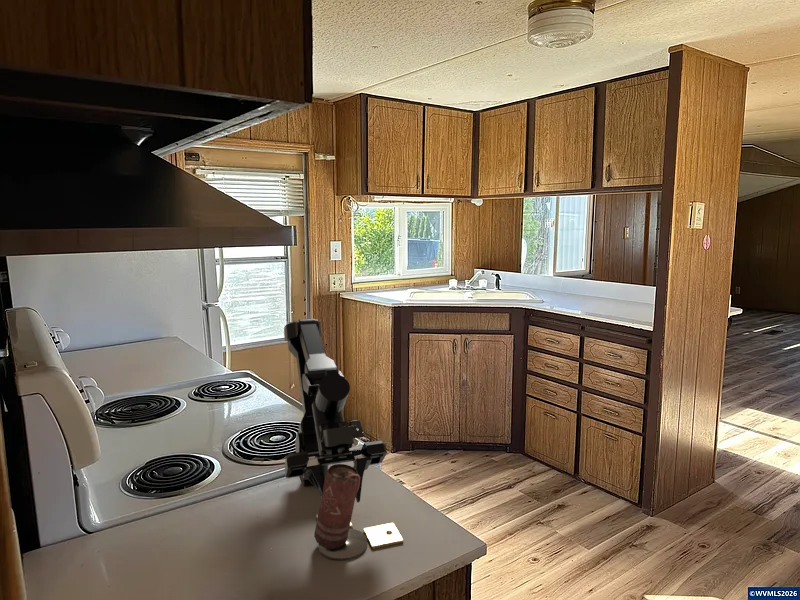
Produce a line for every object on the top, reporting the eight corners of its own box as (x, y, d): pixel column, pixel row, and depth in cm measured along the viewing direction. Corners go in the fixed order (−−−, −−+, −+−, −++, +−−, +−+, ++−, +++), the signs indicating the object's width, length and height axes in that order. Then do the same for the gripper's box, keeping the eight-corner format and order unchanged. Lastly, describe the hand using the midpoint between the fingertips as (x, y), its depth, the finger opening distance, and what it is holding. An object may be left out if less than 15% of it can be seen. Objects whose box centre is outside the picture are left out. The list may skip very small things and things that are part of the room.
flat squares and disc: (308, 518, 111) (308, 515, 111) (381, 505, 116) (381, 502, 116) (323, 564, 97) (323, 561, 96) (405, 547, 101) (405, 543, 101)
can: (347, 552, 99) (361, 482, 97) (312, 547, 99) (325, 478, 96) (348, 530, 105) (361, 465, 102) (314, 526, 105) (327, 460, 102)
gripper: (284, 412, 99) (295, 499, 90) (383, 400, 105) (403, 481, 96) (280, 436, 107) (290, 518, 99) (372, 424, 113) (389, 500, 105)
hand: (343, 504), depth 99 cm, fingers closed on can, 5 cm apart
